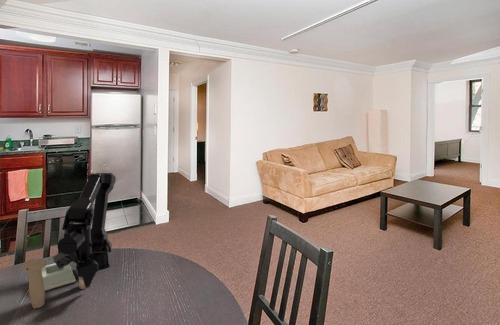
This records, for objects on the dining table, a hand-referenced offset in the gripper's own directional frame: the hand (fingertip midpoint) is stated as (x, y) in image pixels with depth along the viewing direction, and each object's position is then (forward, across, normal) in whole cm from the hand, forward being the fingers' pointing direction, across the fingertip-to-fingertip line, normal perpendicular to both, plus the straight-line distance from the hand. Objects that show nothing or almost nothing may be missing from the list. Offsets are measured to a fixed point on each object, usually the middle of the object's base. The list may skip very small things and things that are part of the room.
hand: (84, 281), depth 103 cm
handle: (+2, +3, -14) cm, 14 cm away
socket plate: (+2, -11, -8) cm, 13 cm away
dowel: (+2, 0, 0) cm, 2 cm away
